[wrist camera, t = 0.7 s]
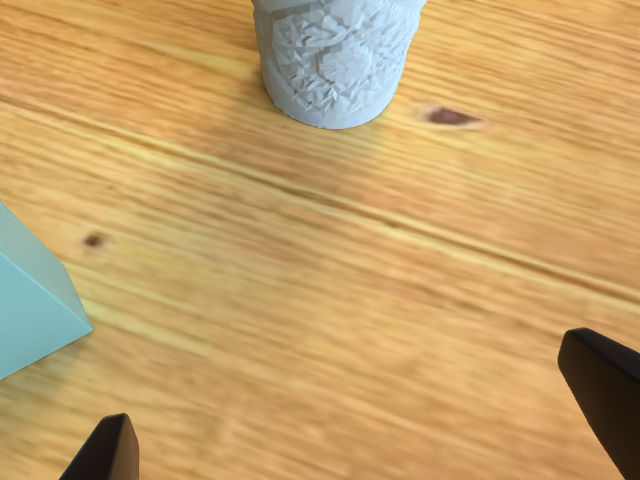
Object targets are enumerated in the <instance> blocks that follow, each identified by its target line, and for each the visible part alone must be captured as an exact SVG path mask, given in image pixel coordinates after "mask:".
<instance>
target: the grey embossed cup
mask: <svg viewBox="0 0 640 480" xmlns="http://www.w3.org/2000/svg"><path fill="white" fill-rule="evenodd" d="M251 1H252V3H253V5H254V12H253V15H254V22H255V29H256V35H257V41H258V47H259V53H260V60H261V68H262V76H263V82H264V86H265V88H266V90H267V92H268V95H269V97H270V99H271V100H272V101H273V102H274V105H275V106H276V107H277V108H279V109H281V110H282V111H283V113H284V114H287V115H288V116H289V117H290V118H293V119H295V120H297V121H300V122H302V123H304V124H307V125H311V126H315V127H317V128H324V129H332V130H334V129H346V128H352V127H355V126H359V125H361V124H364V123H367V122H368V121H370V120H372V119H374V118H375V117H376V116H378V115H379V114H380V113H381V112H382V111H383V110H384V109H385V108H386V107H387V105H388V104H389V103H390V101H391V99H392V98H393V96H394V94H395V91H396V88H397V86H398V83H399V80H400V78H401V75H402V72H403V69H404V65H405V60H406V52H407V50H408V48H409V45H410V43H411V40H412V37H413V36H414V34H415V32H416V31H417V29H418V25H419V19H420V14H421V10H422V7H423V6H424V4H425V3H426V2H427V0H251Z"/></svg>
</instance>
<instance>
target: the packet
mask: <svg viewBox="0 0 640 480" xmlns="http://www.w3.org/2000/svg"><path fill="white" fill-rule="evenodd" d="M93 330H94V329H93V327H92V325H91V323H90V320H89V318H88V316H87V314H86V312H85V310H84V308H83V305H82V303H81V301H80V299H79V297H78V295H77V293H76V291H75V288H74V286H73V284H72V282H71V280H70V278H69V276H68V273H67V271H66V269H65V267H64V265H63V264H62V263H61V262H60V261H59V260H58V259H57V258H56V257H55V256H54V255H53V254H52V253H51V252H50V251H49V250H48V249H47V248H46V247H45V246H44V245H43V244H42V243H41V242H40V241H39V240H38V239H37V238H36V237H35V236H34V235H33V234H32V233H31V232H30V231H29V229H28V228H27V227H26V226H25V225H24V224H23V223H22V222H21V221H20V220H19V219H18V218H17V217H16V216H15V215H14V214H13V213H12V212H11V211H10V210H9V209H8V208H7V207H6V206H5V205H4V204H3V203H2V202H1V201H0V380H1V379H3V378H5V377H7V376H9V375H11V374H13V373H15V372H16V371H18V370H20V369H22V368H24V367H26V366H28V365H30V364H32V363H33V362H35V361H37V360H39V359H41V358H43V357H45V356H47V355H49V354H50V353H52V352H54V351H56V350H58V349H60V348H62V347H64V346H66V345H67V344H69V343H71V342H73V341H75V340H77V339H79V338H81V337H83V336H84V335H86V334H88V333H90V332H92V331H93Z"/></svg>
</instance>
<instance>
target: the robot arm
mask: <svg viewBox="0 0 640 480" xmlns="http://www.w3.org/2000/svg"><path fill="white" fill-rule="evenodd" d="M558 366H559V369H560V371H561V373H562V375H563V377H564V378H565V380H566V382H567V384H568V386H569V388H570V390H571V391H572V393H573V395H574V397H575V399H576V401H577V403H578V404H579V406H580V408H581V410H582V412H583V414H584V416H585V418H586V419H587V421H588V423H589V425H590V427H591V428H592V430H593V432H594V433H595V435H596V437H597V438H598V440H599V441H600V443H601V444H602V446H603V447H604V449H605V450H606V452H607V453H608V455H609V456H610V458H611V459H612V461H613V462H614V464H615V465H616V467H617V468H618V470H619V471H620V473H621V474H622V476H623V477H624V479H625V480H640V353H638V352H636V351H634V350H632V349H630V348H628V347H626V346H624V345H622V344H620V343H618V342H616V341H614V340H612V339H609V338H607V337H605V336H603V335H601V334H599V333H597V332H595V331H593V330H591V329H588V328H577V329H571V330H568V331H566V333H565V334H564V336H563V340H562V343H561V347H560V351H559V354H558ZM59 480H139V444H138V440H137V437H136V434H135V432H134V429H133V426H132V423H131V421H130V418H129V416H128V415H127V414H126V413H121V414H115V415H110V416H106V417H104V418H103V419H102V420H101V421H100V422H99V424H98V425H97V426H96V428H95V429H94V431H93V432H92V433H91V435H90V436H89V438H88V439H87V441H86V442H85V443H84V445H83V446H82V448H81V449H80V450H79V452H78V453H77V455H76V456H75V457H74V459H73V460H72V462H71V463H70V465H69V466H68V467H67V469H66V470H65V472H64V473H63V474H62V476H61V477H60V479H59Z"/></svg>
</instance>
